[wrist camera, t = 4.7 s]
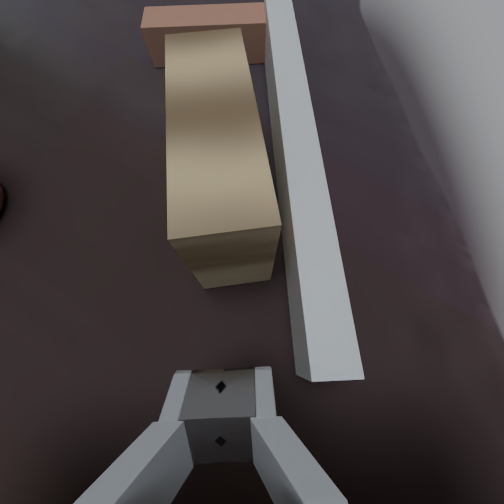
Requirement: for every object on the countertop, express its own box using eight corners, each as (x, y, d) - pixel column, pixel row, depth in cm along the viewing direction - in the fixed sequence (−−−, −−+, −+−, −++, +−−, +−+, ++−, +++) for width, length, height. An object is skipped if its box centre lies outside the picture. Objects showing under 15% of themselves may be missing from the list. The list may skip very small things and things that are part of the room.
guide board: (334, 372, 13) (364, 379, 10) (104, 384, 13) (45, 395, 9) (283, 42, 24) (288, -15, 20) (157, 47, 24) (139, -10, 20)
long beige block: (270, 280, 15) (281, 224, 9) (204, 289, 15) (167, 239, 9) (245, 134, 20) (240, 27, 13) (194, 140, 20) (164, 34, 13)
